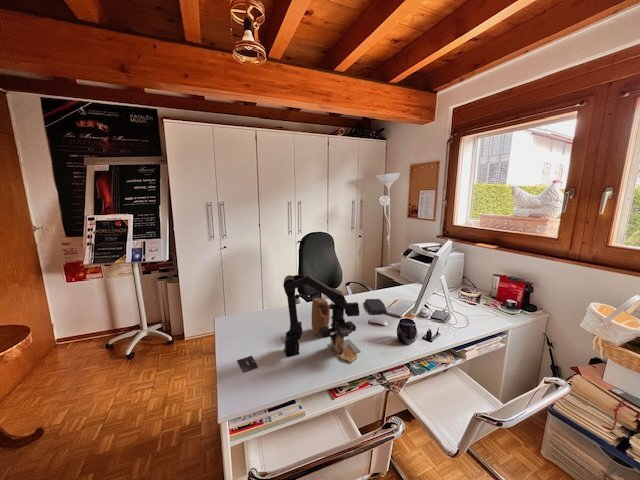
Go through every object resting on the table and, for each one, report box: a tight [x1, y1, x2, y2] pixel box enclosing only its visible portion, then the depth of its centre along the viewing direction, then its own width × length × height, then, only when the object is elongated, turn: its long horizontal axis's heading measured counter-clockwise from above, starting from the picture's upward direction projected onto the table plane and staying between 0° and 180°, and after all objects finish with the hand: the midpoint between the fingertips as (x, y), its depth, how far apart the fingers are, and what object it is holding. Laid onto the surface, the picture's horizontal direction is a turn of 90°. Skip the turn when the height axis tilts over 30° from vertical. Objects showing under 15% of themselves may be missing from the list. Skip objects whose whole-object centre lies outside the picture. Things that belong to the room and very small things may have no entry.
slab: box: [330, 332, 345, 354], centre depth 133 cm, size 3×8×9 cm, turn 24°
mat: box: [327, 338, 361, 359], centre depth 136 cm, size 13×12×1 cm
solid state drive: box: [236, 355, 259, 374], centre depth 123 cm, size 7×10×1 cm
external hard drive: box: [364, 298, 389, 316], centre depth 183 cm, size 13×19×4 cm
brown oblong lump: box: [311, 297, 331, 338], centre depth 149 cm, size 11×8×20 cm
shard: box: [340, 344, 358, 363], centre depth 130 cm, size 11×8×2 cm
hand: (337, 344), depth 134 cm, fingers closed on slab, 3 cm apart
